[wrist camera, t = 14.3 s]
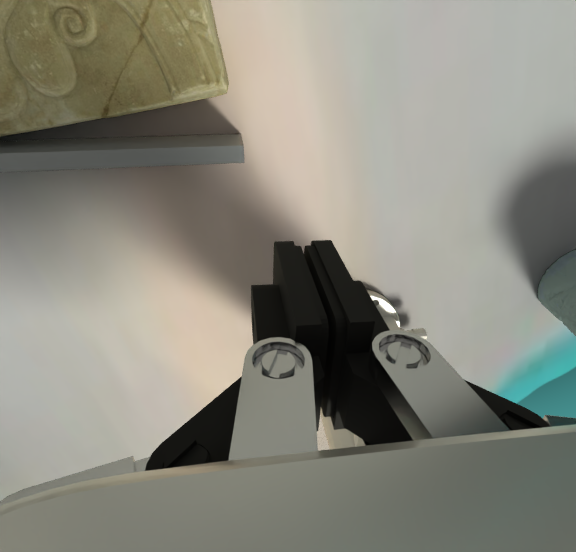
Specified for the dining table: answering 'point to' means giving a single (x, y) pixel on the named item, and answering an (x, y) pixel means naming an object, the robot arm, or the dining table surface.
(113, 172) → the dining table surface
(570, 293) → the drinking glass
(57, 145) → the box
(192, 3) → the decorative tile
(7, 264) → the dining table surface
